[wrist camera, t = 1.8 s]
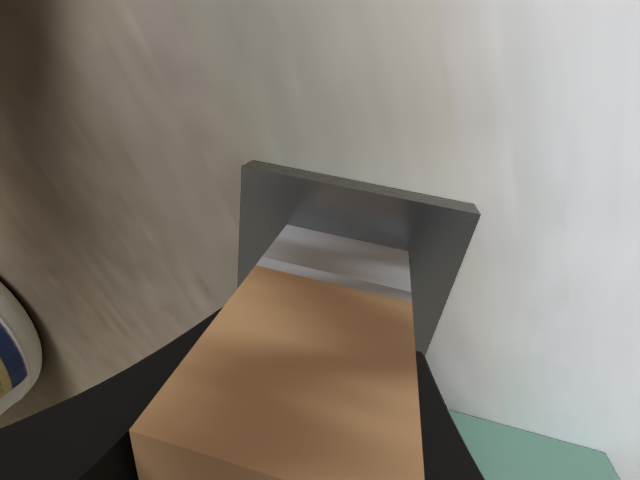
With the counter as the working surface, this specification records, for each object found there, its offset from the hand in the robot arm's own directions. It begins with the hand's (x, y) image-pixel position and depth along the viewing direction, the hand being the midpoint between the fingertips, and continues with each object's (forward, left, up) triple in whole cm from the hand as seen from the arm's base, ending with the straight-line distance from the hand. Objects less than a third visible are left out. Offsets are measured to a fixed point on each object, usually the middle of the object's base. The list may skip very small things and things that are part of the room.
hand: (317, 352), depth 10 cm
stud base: (0, 0, -4) cm, 4 cm away
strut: (0, 0, -3) cm, 3 cm away
